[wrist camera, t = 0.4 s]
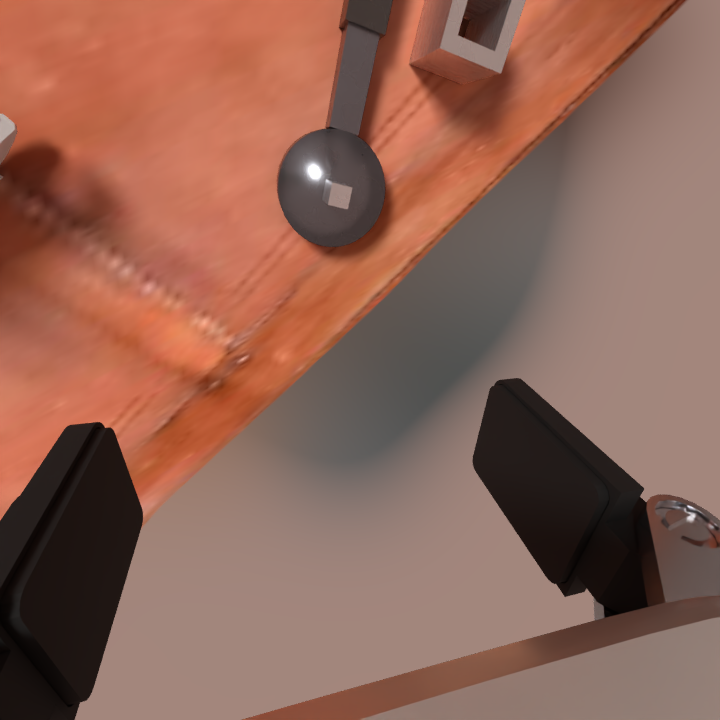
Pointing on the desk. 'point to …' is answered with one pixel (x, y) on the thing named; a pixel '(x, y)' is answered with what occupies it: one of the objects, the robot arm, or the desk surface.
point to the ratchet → (339, 144)
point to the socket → (481, 43)
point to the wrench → (6, 136)
